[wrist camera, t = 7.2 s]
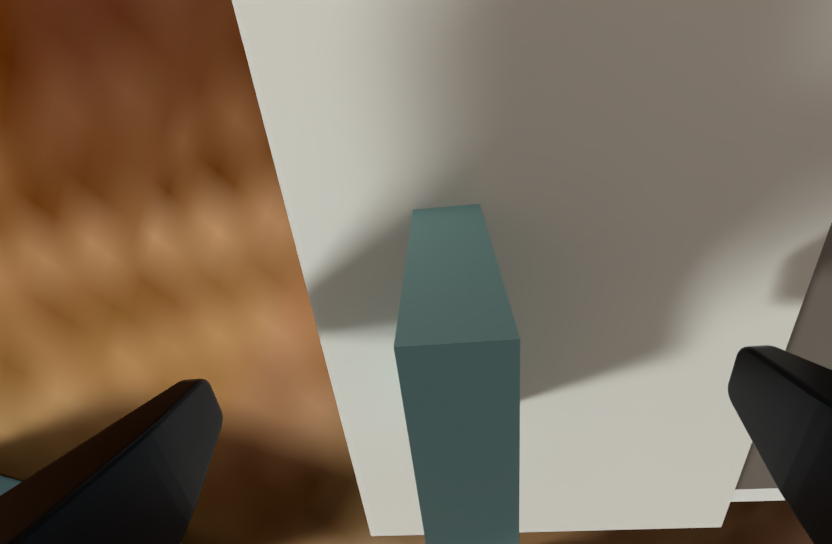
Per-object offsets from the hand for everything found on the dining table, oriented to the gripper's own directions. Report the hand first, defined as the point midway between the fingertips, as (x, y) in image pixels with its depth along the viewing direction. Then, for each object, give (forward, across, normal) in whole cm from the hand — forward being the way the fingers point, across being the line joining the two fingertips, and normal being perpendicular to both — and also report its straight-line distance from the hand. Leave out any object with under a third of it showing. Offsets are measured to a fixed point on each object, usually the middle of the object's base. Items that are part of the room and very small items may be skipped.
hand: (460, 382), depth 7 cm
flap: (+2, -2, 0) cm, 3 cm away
